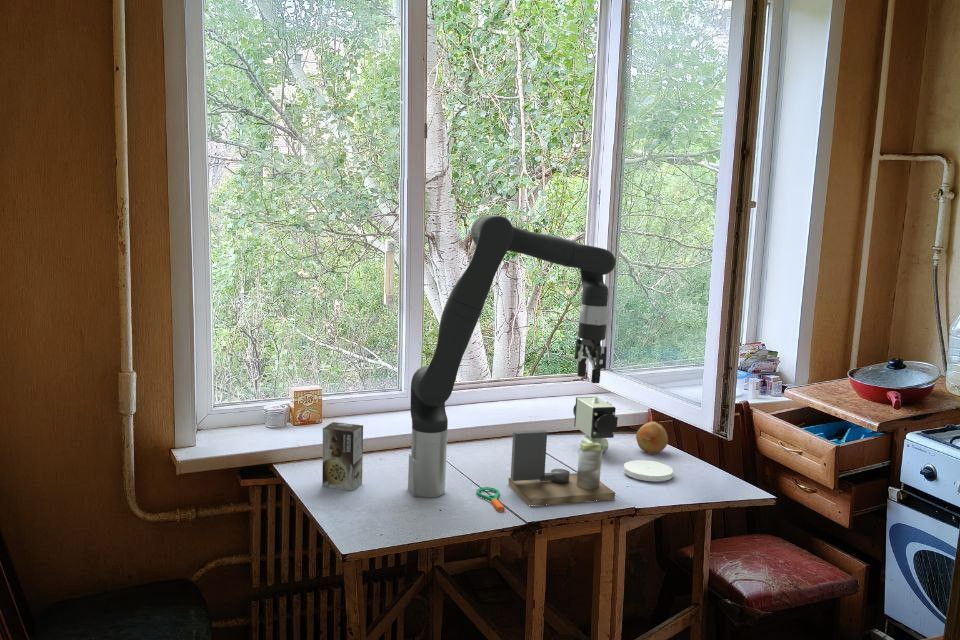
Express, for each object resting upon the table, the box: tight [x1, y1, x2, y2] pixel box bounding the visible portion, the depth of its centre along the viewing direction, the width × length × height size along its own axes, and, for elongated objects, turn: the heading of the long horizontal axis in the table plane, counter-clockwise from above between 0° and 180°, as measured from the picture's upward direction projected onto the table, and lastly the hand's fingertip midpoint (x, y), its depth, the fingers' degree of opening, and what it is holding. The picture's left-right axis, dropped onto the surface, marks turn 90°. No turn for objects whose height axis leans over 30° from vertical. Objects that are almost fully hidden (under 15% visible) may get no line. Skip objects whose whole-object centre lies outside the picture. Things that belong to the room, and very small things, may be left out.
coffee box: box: [321, 421, 364, 491], centre depth 205 cm, size 9×6×16 cm
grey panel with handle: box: [510, 429, 571, 484], centre depth 209 cm, size 16×5×14 cm, turn 108°
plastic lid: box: [623, 459, 674, 482], centre depth 226 cm, size 14×14×2 cm
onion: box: [635, 421, 669, 455], centre depth 247 cm, size 10×10×10 cm
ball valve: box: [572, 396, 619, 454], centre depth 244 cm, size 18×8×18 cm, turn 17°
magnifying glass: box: [476, 486, 506, 512], centre depth 201 cm, size 15×6×2 cm, turn 15°
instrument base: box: [507, 442, 616, 506], centre depth 208 cm, size 24×16×14 cm, turn 108°
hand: (588, 379), depth 215 cm, fingers open, 8 cm apart
